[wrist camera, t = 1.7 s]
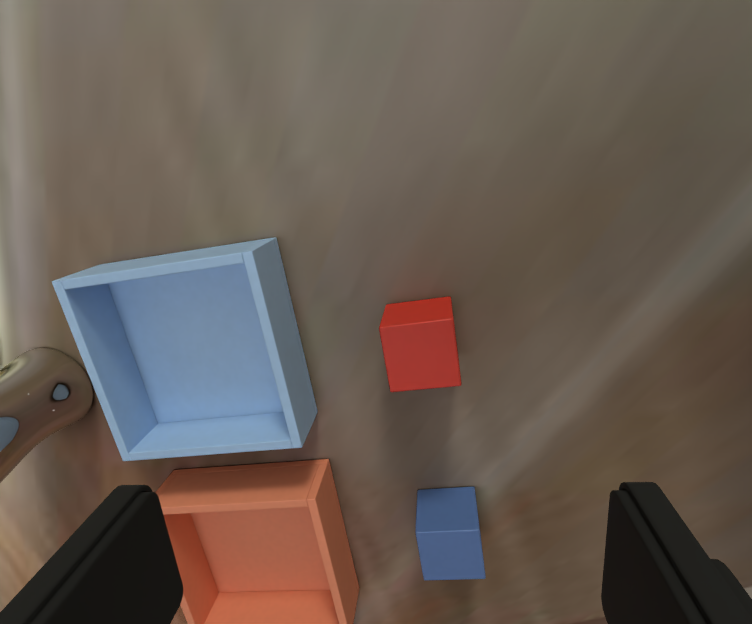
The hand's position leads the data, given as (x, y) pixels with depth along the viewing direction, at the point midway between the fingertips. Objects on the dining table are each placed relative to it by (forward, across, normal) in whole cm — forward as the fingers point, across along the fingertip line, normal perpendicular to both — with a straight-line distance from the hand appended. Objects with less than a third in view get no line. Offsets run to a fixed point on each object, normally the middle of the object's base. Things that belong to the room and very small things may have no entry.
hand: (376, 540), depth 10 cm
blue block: (+20, -2, +17) cm, 26 cm away
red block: (+20, -1, +3) cm, 20 cm away
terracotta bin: (+20, +12, +19) cm, 30 cm away
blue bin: (+20, +13, +3) cm, 24 cm away
